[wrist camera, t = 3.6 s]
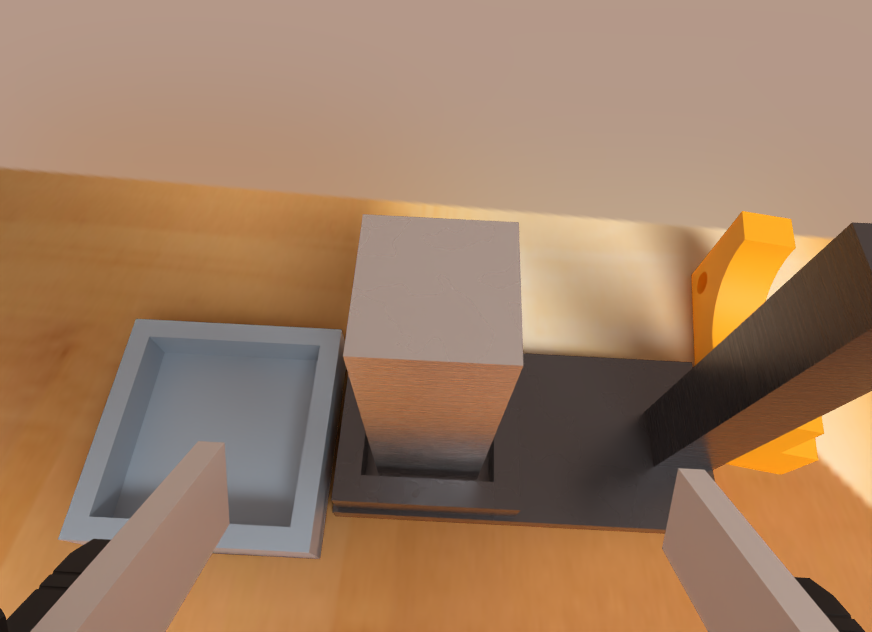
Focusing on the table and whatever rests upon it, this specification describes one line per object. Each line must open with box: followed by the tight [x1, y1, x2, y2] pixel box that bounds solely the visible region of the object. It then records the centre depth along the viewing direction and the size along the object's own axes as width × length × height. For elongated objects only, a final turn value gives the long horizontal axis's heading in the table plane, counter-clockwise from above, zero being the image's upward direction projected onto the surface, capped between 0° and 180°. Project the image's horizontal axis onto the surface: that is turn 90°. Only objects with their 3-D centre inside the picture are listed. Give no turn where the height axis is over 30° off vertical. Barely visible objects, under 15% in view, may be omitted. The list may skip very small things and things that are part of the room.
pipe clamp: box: [691, 211, 824, 474], centre depth 29 cm, size 12×4×6 cm, turn 169°
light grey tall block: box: [343, 214, 523, 478], centre depth 22 cm, size 5×5×14 cm
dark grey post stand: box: [331, 223, 872, 534], centre depth 22 cm, size 19×9×17 cm, turn 88°
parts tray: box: [58, 319, 346, 559], centre depth 28 cm, size 11×11×3 cm
